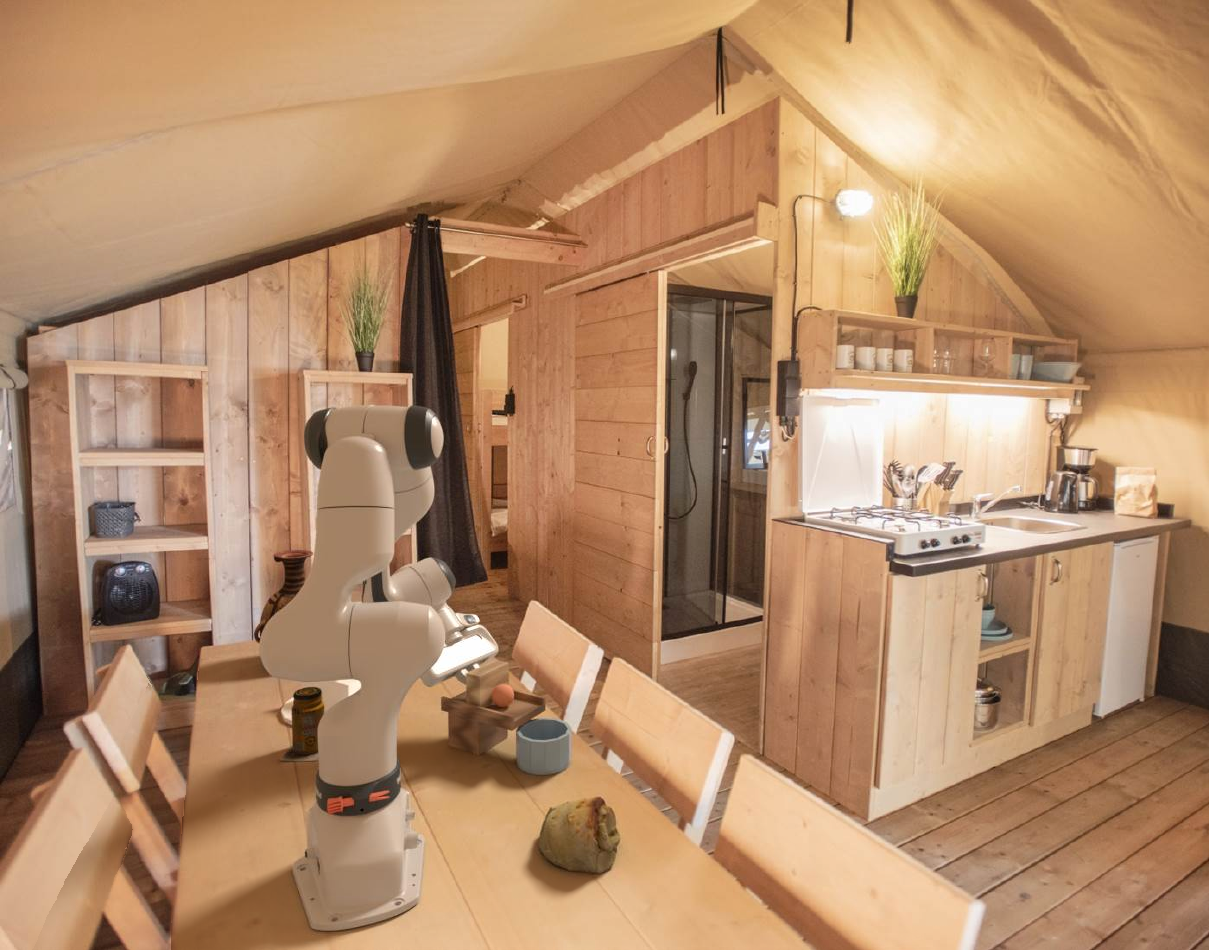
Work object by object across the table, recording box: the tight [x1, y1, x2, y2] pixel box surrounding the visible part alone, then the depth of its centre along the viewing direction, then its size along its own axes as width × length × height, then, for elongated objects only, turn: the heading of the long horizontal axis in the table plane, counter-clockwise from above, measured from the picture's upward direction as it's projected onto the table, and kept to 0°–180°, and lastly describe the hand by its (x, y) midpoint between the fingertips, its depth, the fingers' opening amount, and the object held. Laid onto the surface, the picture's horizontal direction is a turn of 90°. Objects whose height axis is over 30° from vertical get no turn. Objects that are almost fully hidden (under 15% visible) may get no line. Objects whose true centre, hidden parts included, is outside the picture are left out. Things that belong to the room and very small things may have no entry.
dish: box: [280, 679, 361, 726], centre depth 162 cm, size 25×25×11 cm
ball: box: [492, 684, 514, 707], centre depth 140 cm, size 4×4×4 cm
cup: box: [515, 717, 573, 776], centre depth 135 cm, size 10×10×6 cm
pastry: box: [538, 796, 622, 875], centre depth 108 cm, size 14×12×8 cm
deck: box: [440, 688, 546, 756], centre depth 142 cm, size 18×11×10 cm, turn 59°
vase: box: [253, 549, 314, 644], centre depth 189 cm, size 21×18×30 cm
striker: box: [465, 659, 510, 708], centre depth 142 cm, size 4×9×7 cm, turn 149°
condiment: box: [279, 687, 324, 762], centre depth 139 cm, size 7×8×12 cm
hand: (478, 687), depth 143 cm, fingers closed, pressing on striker
